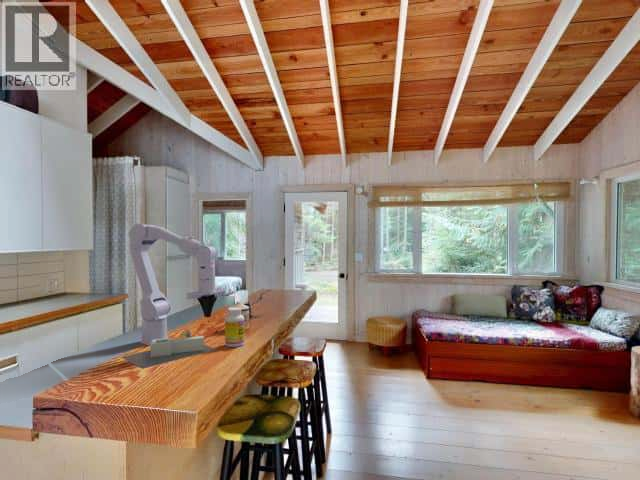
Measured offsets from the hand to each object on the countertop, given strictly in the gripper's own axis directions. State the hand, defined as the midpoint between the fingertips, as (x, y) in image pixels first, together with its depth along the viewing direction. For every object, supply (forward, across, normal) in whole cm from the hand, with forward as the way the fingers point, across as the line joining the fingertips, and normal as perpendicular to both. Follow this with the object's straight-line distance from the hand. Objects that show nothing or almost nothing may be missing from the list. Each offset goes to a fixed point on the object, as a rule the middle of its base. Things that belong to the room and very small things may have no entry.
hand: (207, 316), depth 127 cm
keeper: (+10, -8, 0) cm, 13 cm away
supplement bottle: (+10, +6, -8) cm, 14 cm away
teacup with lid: (+10, +22, +12) cm, 27 cm away
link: (+9, -12, -2) cm, 15 cm away
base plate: (+10, -14, -1) cm, 17 cm away
